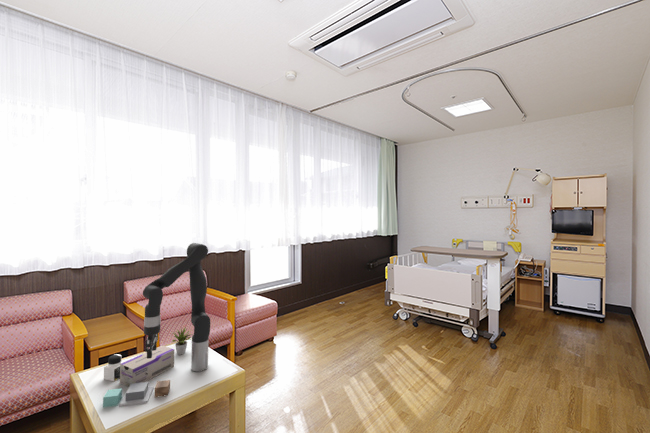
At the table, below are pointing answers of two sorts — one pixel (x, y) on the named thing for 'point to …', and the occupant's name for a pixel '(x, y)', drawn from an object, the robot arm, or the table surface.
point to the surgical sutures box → (146, 366)
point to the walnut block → (162, 388)
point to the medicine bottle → (113, 368)
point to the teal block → (112, 397)
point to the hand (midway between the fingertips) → (151, 354)
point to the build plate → (124, 403)
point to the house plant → (181, 341)
